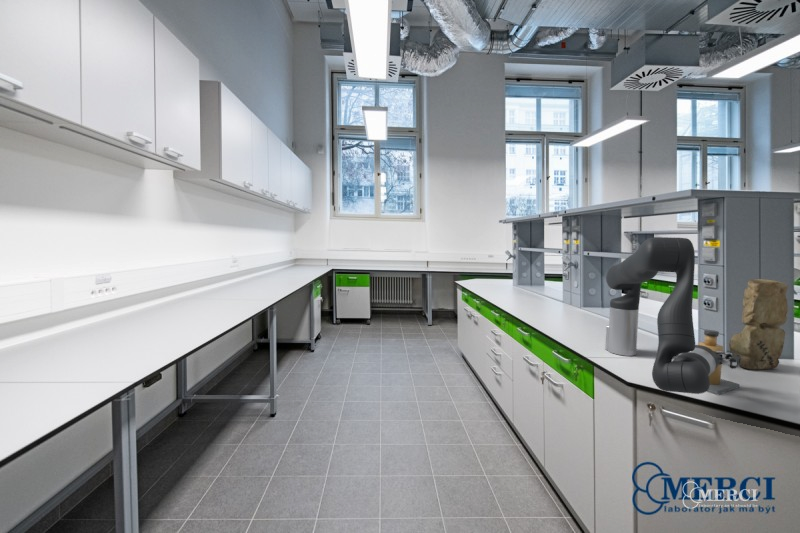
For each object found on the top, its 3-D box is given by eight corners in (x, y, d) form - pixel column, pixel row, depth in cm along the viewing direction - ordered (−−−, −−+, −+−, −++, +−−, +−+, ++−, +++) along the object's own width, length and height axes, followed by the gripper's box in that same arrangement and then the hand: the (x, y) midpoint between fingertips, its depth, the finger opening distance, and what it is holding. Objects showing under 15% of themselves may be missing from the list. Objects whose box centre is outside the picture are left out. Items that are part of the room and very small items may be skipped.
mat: (676, 381, 107) (676, 378, 107) (699, 375, 111) (699, 372, 111) (717, 394, 98) (717, 391, 97) (739, 387, 102) (739, 384, 102)
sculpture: (755, 361, 124) (762, 277, 122) (785, 371, 115) (793, 280, 113) (722, 362, 124) (728, 277, 121) (749, 372, 115) (756, 280, 112)
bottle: (691, 379, 106) (694, 329, 105) (701, 376, 108) (705, 327, 107) (713, 386, 101) (717, 334, 99) (724, 383, 103) (728, 332, 102)
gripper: (734, 354, 87) (744, 343, 97) (664, 342, 98) (680, 332, 108) (732, 384, 88) (742, 369, 98) (663, 368, 99) (678, 356, 109)
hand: (709, 350), depth 103 cm, fingers open, 8 cm apart
